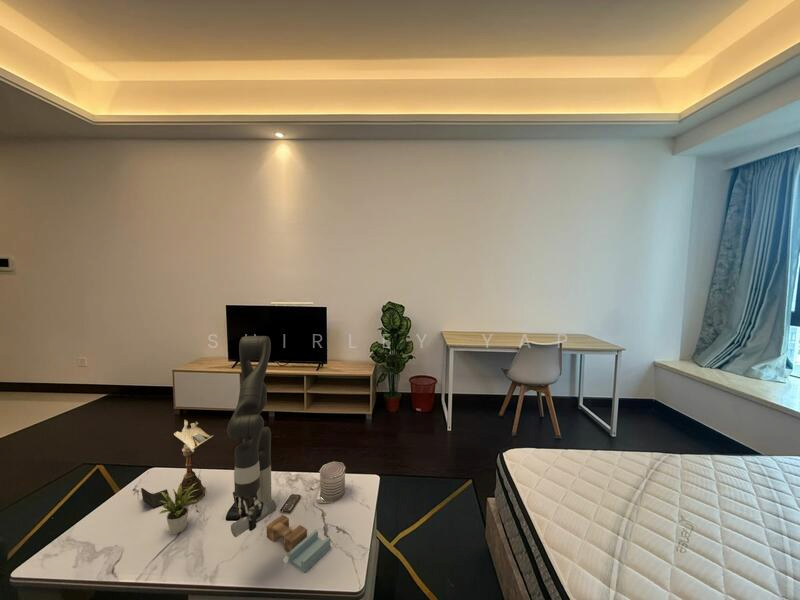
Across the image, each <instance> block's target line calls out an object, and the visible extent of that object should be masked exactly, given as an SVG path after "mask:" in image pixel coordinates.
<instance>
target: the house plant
mask: <svg viewBox="0 0 800 600" xmlns="http://www.w3.org/2000/svg"><path fill="white" fill-rule="evenodd" d="M196 483H197V482H196ZM196 483H195V484H196ZM195 484H193V485H192V486H191V487H190V488H188V490H187V489H186V490H187V492H186V493H185V495H184V496H182V497H181V495H182V493H183V492H182V486H181V484H179V485H178V487H177V491H175V489H174V488H172V490H173V494H174V497H173V499H174V498H175V499H176V505H175V501H173V500H172V498H171V497H170V495H167V494H165V493H164V492H161V493H162V494H163V495H164V497H165V498H166V500H167V502H168V503H167V502H165V501H160V502H163V503H165V504H166V505H163V506H162V508H164V509H162V510H161V511H159V513H158V515H160V514H165V513H167V515H166V522H167V524H168V530H169V533H170V534H172V535H176V534H180V533H181V532H183V531H184V530H186V528H187V524H188V517H189V511H190V510H189V508H188V507H189V506H191V505H192V504H191V503H193V502H196V501H195V500H191V501H188V502H187V503H186V501H187V500H188V499H189V498H190V497H193V496H189V495H190V494H191V493H192V492H194V491H197V490H193V491H191V492H190V490H191V489H192V488H193V486H194V485H195ZM186 490H185V491H186ZM185 491H184V492H185ZM189 492H190V493H189ZM188 493H189V494H188ZM190 502H191V503H190ZM188 503H190V504H191V505H190V504H189V505H187V506H185V505H186V504H188Z"/></svg>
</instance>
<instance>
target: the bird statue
mask: <svg viewBox="0 0 800 600" xmlns="http://www.w3.org/2000/svg"><path fill="white" fill-rule="evenodd" d="M183 423H184V424H183V425H184V426H183V428H182V429H181V431H175V432H174V433H173V435H174V436H175V437H176V438H177V439H179V440H180V441H181V442H183V444H184V445H183V447H182V448H181V451H182V456H184V457H185V458H186V459H185V460H186V463H185V468H186V473H184V475H183V478H182V481H181V483H180V484H181V486H182V492H183V493H182V495H181V497H182V496H184V495H185V493H186V492H187V490H188V488H190V487H191V486H192V485H193V484H195V483H196V482H197V483H196V484H195V485H194V486H193V488H192V489H191V490H190V492H191V491H193V490H197V491H194V492H192V493H191V494H190V495H189V496H193V497H190V498H189V499H188V500H187V501H186V503H187V502H188V501H191V500H195V501H196V502H193V503H191V502H190V503H191V504H190V503H188V504H186V505H185V506H184V507H187V506H188V505H189V504H190V505H189V506H191V505H194V504H198V502H200V501H201V500H202V499H204V498H205V497H206V492H207V491H206V487H205V486H204V485H203V484H202V480H201V479H200V478H198V476H197V474H196V472H195V471H193V465H194V462H193V455H194V454H195V453H196V449H197V448H198V449H199V448H201V447H203V446H204V445H206V444H207V443H208V442H210V440H211V439H212V440H214V436H215V435H213V434H212V435H210V434H208V433H206V431H204V430H203V429H202V428H201V427H200V426H198V425H199V422H198V421H195V422H193V423H190V424H189V422H188V420H186V419H184V421H183ZM189 425H190V426H191V427H189ZM180 484H179V485H180ZM186 489H187V490H186ZM185 490H186V491H185ZM184 491H185V492H184ZM190 492H189V493H190ZM189 493H188V494H189ZM174 504H175V505H176V499H175V500H174Z"/></svg>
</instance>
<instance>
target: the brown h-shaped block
mask: <svg viewBox="0 0 800 600" xmlns="http://www.w3.org/2000/svg"><path fill="white" fill-rule="evenodd" d="M265 528H266V538H267V539H268V540H270V541H271V542H273V543H274V542H275V541H277V540H278V539H279V538H280V537H283V550H284V551H286V552H287V553H289V552H290V551H291V550H292V549H293V548H294V547H296V546H297V545H298V544H299V543H300V542H302V541H303V540H304V539H305V538H306V537H308V529H307V528H306V527H304V526H303V525H301V524H299V525H297V526H296V527H295V528H293V529H292V528H290V518H289V517H287V516H286V515H284V514H280V515H279V516H278V517H276V518H275V519H273V520H272V521H270V522H269V523H268V524H267V525H266V527H265Z"/></svg>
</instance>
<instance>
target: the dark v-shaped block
mask: <svg viewBox="0 0 800 600" xmlns="http://www.w3.org/2000/svg"><path fill="white" fill-rule="evenodd" d="M140 492H141V497H142V501H143V502H144V503H146V504H148V505H149V506H151V507H152V508H153V510H155V509H158V508H160V507H163V505H167V504H165V503H163V502H160V501H165V502H167V500H166V498H165V497H164V495H163V494H162V493H161V492H164V493H165V494H167V495H169V491H168V489H167V488H166V489H164V490H160V491H158V492H155V493H151V492H149V491H147V490H146V489H145V488H143V487H141V488H140ZM169 496H170V495H169ZM167 503H168V502H167Z"/></svg>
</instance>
